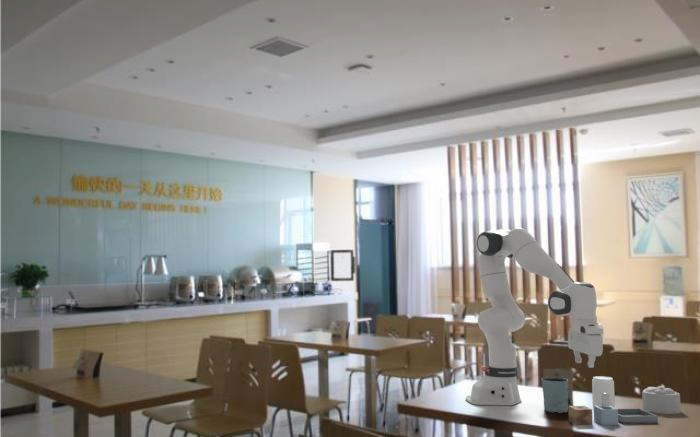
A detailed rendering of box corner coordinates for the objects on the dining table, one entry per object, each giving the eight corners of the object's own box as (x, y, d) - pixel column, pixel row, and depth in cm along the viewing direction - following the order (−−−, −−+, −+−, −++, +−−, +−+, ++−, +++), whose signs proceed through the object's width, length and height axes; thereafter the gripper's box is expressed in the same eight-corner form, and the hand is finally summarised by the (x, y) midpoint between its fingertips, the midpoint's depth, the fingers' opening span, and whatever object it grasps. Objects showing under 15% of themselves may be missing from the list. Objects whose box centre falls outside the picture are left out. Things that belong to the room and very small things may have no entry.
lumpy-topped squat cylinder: (645, 406, 251) (644, 384, 252) (681, 410, 245) (680, 387, 245) (642, 411, 242) (641, 388, 243) (679, 415, 236) (678, 392, 236)
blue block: (602, 425, 222) (601, 409, 223) (594, 421, 228) (593, 405, 229) (618, 424, 223) (617, 409, 223) (609, 420, 229) (609, 405, 229)
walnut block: (576, 425, 221) (575, 409, 222) (568, 421, 227) (568, 405, 228) (592, 425, 222) (592, 409, 222) (584, 421, 228) (584, 405, 228)
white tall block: (616, 411, 242) (615, 379, 243) (594, 410, 244) (593, 379, 245) (612, 406, 250) (611, 376, 251) (591, 405, 252) (590, 375, 253)
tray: (622, 423, 223) (622, 416, 223) (606, 415, 235) (606, 408, 235) (657, 423, 224) (657, 415, 224) (640, 415, 236) (639, 408, 236)
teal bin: (565, 414, 238) (564, 382, 238) (539, 411, 243) (538, 379, 244) (571, 409, 246) (571, 378, 247) (545, 406, 251) (545, 375, 252)
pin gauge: (611, 419, 224) (610, 393, 225) (604, 419, 224) (603, 394, 225) (607, 417, 227) (607, 392, 228) (600, 417, 227) (600, 392, 227)
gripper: (563, 323, 238) (563, 360, 237) (588, 329, 217) (589, 370, 217) (579, 323, 238) (579, 360, 237) (606, 329, 218) (606, 370, 217)
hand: (584, 365), depth 227 cm, fingers open, 8 cm apart
